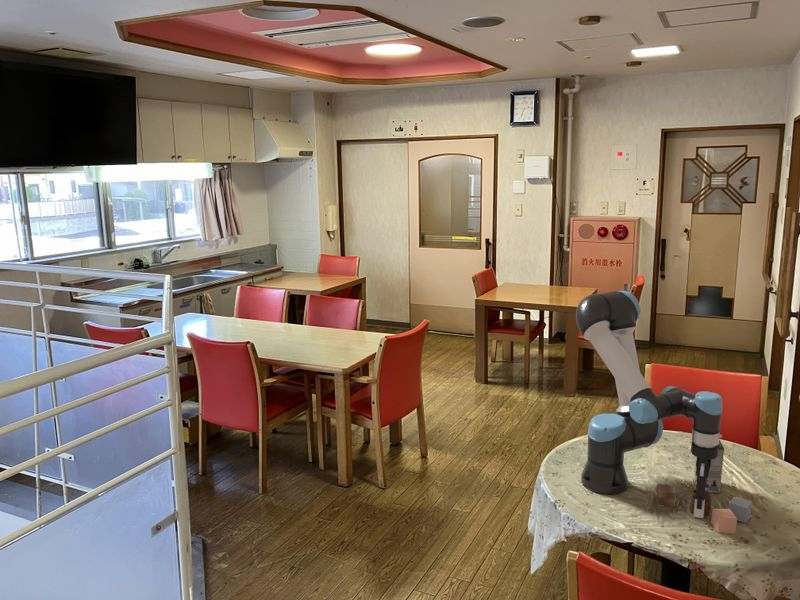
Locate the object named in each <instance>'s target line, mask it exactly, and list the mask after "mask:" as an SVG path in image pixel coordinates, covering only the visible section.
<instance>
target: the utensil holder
mask: <svg viewBox="0 0 800 600" xmlns="http://www.w3.org/2000/svg"><path fill="white" fill-rule="evenodd" d="M706 480H707V482H708V480H709V479H706ZM692 482H693V488H694V489H692V491H691V495H690V499H689V512H690V513H691V515H692V516H694V505H695V498H693V495H694V496H695V495H696V484H697V481H696V480H695V478H693V479H692ZM709 482H710V481H709ZM710 485H711V484H710ZM710 485H708V486H710ZM707 489H708V488H707ZM708 490H709V489H708ZM711 509H712V501H711V492H708V491H707V490H705V505H704V516H703V518H707V517H709V516H710V515H711Z"/></svg>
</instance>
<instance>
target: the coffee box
mask: <svg viewBox="0 0 800 600" xmlns="http://www.w3.org/2000/svg"><path fill="white" fill-rule="evenodd" d="M718 446H719V450H718V457H717V458H715V459H710V460H711V465H710V469H709V475H708V477H707V479H709V480H708V482H707V484H709V485H710V484H711V485H710V486H709V488H708V489H709V490H708V489H707V491H708V492H709V493H714V494H715V493H716V494H718V493H719V494H720V493H721V484H722V475H723V465H724V455H725V448H724V445H723V444H722V442H721V440H720V439H719V444H718ZM696 461H697V457H696V458H695V462H696ZM696 469H697V467H696V466H695V470H694V471H695V472H694V481H695V480H696V481H697V475H696ZM709 481H710V482H709ZM705 488H707V487H705Z"/></svg>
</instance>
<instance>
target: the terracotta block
mask: <svg viewBox="0 0 800 600" xmlns="http://www.w3.org/2000/svg"><path fill="white" fill-rule="evenodd" d="M737 522H738V520H737V517H736V516H735V515H734V514H733V512H732V511H731V510H730V509H729V508H712V513H711V523H710V524H711V525H712V527H713V528H714V529H715V531H716V532H717V533H718V534H736V531H737V524H738V523H737Z"/></svg>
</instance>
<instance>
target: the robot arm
mask: <svg viewBox="0 0 800 600" xmlns="http://www.w3.org/2000/svg"><path fill="white" fill-rule="evenodd" d="M640 316H641V305H640V302H639V301H638V299H637V298H636V296H635V295H633V294H632V292H630V291H628V290H614V291H607V292H602V293H592V294H589V295H587V296H585V297H584V298H582V299H581V300H580V301H579V302H578V305H577V307H576V311H575V321H576V326H577V327H578V328H577V329H578V330H579V332H580V333H581V335H582V337H583V338H584V340H586V341H589V342H590V343H591V345H592V346H593V348H594V349H595V350H596V352H597V354H598V355H599V357H600V358H601V360H602V361H603V363H604V364H605V366H606V368H608V370H609V371H610V373H611V374H612V376H613V377H614V380H615V387H616V392H617V396H618V402H619V405H618V408H617V409H616V410H615V411H616V413H610V412H609V413H601V414H600V413H599V414H597V415H595V416H594V417H592V418H591V419H590V421H589V425H588V429H587V434H588V435H587V438H588V439H587V460H586V462H585V464H584V468H583V469H582V472H581V476H580V477H581V478H580V482H581V481H582V482H581V484H582V483H583V484H584V485H585V486H586V487H587V488H589V489H591V490H593V491H592V492H594V491H595V492H594V493H597V494H602V495H617V494H620V493H621V494H622V493H623V492H625V491H626V490H627V489H628V487H629V486H628V485H629V480H628V479H629V478H628V475H627V472H626V469H625V465H624V461H625V459H624V457H625V453H628V452H631V451H635V450H639V449H643V448H648V447H651V446H652V445H656V443H658V442H659V441H660V439H661V438H663V437H662V436H663V434H664V433H663V432H664V426H663V421H662V420H664V419H669V418H673V417H677V416H683V417H685V418H687V419H689V420H692V428H691V429H692V430H691V446H690V448H691V449H690V453H691V454H692V456H694V457H697V461H696V460H695V469H696V467H697V469H696V475H697V483H696V495H695V496H694V495H693V498H695V505H694V515H693V517H695V518H698V519H699V518H700V519H704V517H703V516H704V505H705V490H707V488H709V486H708V485H709V484H707V480H706V479H707V477H708V475H709V469H710V465H711V460H710V459H715V458H717V457H718V450H719V446H718V444H719V440H720V439H722V438H723V435H722V434H721V433H720V432H721V423H722V415H723V409H724V408H723V398H722V396H721V395H720V394H718V393H716V392H711V391H707V390H706V391H705V390H704V391H698V392H697V393H695V394H694V393H692V392H690V391H687V390H685V389H683V388H680V387H677V386H674V385H669V386H666V387H665V388H664V389H662V391H661V392H660V393H659V394H656V392H654V390H653V389H652V387H651V386H650V384H649V383H648V382H647V380H646V379H645V377H644V376H643V374H642V373H641V369H640V365H639V363H640V362H639V359H638V354H637V348H636V343H635V337H634V331H635V330H636V329H637V325H636V324H637V323H636V322H637V321H638V320H639V319H640ZM583 484H582V485H583ZM584 485H583V486H584ZM585 486H584V487H585ZM586 487H585V488H586ZM705 487H707V488H705ZM587 488H586V489H587ZM589 489H588V490H589ZM591 490H590V491H591Z"/></svg>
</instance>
